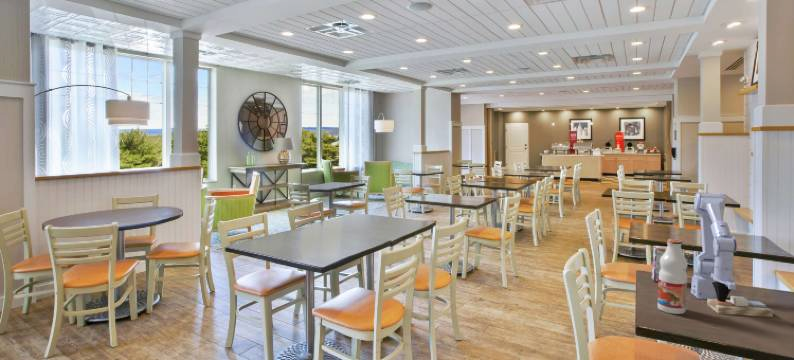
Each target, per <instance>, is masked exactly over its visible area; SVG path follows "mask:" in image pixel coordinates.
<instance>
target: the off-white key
mask: <svg viewBox="0 0 794 360" xmlns="http://www.w3.org/2000/svg"><path fill="white" fill-rule="evenodd" d="M729 300H730V302H731V303H732V304H734V305H735V306H748V301H749V300H748V299H747V298H746V297H744V296H741V295H739V296H736V295H730V299H729Z"/></svg>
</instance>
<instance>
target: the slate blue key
mask: <svg viewBox="0 0 794 360" xmlns="http://www.w3.org/2000/svg"><path fill="white" fill-rule="evenodd" d="M748 304H749V305H750V306H752V307H754V308H766V307H767V304H765V303H763V302H761V301H759V300H758V301H755V300H748Z"/></svg>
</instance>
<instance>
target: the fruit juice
mask: <svg viewBox="0 0 794 360" xmlns="http://www.w3.org/2000/svg"><path fill="white" fill-rule="evenodd" d="M666 244H667V246H666V247H667V249H666V251H665V253H664V254H663V255H662V257H661V258H660V265H661V270H660V272H659V282H657V285H658V288H657V308H658V310H659V311H661V312H665V313H668V314H673V315H682V314H685V312H686V310H687V307H686V306H687V289H688V274H687V268H688V260H687V258H686V257H685V255H684V253H682V250H683V249H682V244H683V241H682V240H681V239H676V238H667V240H666ZM681 249H682V250H681Z"/></svg>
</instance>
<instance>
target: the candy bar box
mask: <svg viewBox="0 0 794 360" xmlns="http://www.w3.org/2000/svg"><path fill="white" fill-rule="evenodd" d="M652 249H653V253H652V265H651V267H652V268H651V269H652V270H651V279H652V282H654V283H659V272H660V270H661V265H660V258H661V257H662V255H663V254H664V253H665V251H666V249H667V246H661V245H653V248H652ZM681 250H682V253H683V249H682V248H681ZM683 254H684V253H683Z"/></svg>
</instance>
